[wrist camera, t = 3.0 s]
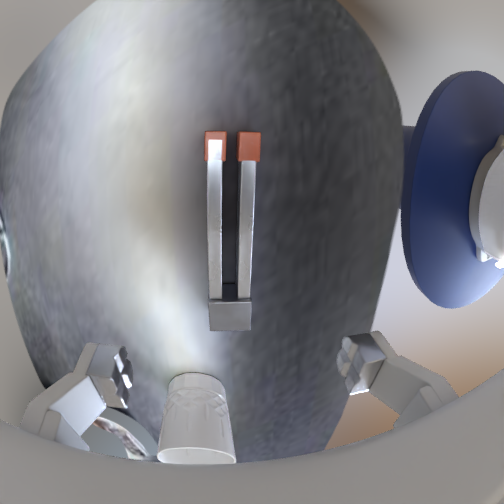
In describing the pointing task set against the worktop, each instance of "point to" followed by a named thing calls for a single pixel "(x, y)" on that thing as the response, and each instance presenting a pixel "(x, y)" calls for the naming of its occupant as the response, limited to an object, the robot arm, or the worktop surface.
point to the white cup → (196, 422)
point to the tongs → (237, 295)
